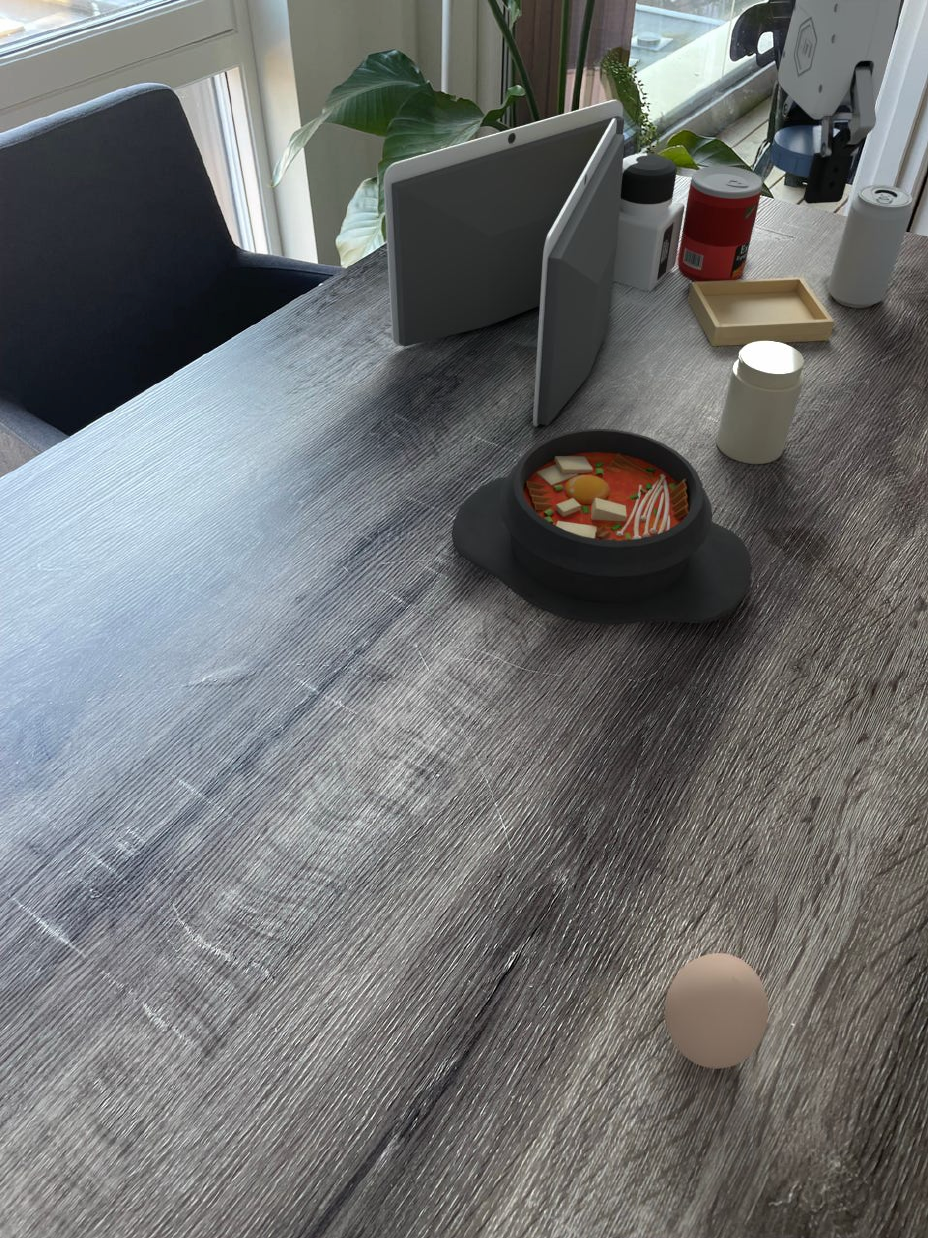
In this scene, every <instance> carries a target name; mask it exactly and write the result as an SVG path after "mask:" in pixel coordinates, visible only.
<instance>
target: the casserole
mask: <svg viewBox="0 0 928 1238" xmlns="http://www.w3.org/2000/svg"><path fill="white" fill-rule="evenodd" d="M703 487H704V486H703V482H702V479H701V478H700V475H699V473H698V471H697V470H696V469H695V468H694V467H693V465H692V464H691V463H690V461H689V460H687V458H685V457H684V456H683V455H682V454H681V453H680V452H678V451H677V450H675V449H674V448H671V447H670V446H669V445H667V444H665V443H664V442H661V441H658V440H656V439H653V438H651V437H649V436H646V435H642V434H639V433H636V432H631V431H626V430H620V429H614V428H613V429H612V428H584V429H583V428H582V429H576V430H570V431H565V432H562V433H558V434H556V435H553V436H550V437H547V438H545V439H543V440H542V441H540V442H537V443H535V444H534V446H532V447H531V448H529V449H528V450H527V451H526V452H525V453H524V454H523V455H522V456H521V458H520V459H519V460H518V461H517V464H516V465H515V466H514V467H513V468H512V469H511V471H510V472H509V473H508V474H507V476H502V477H497V478H495V479H493V480H491V481H489V482H487V483H486V484H483V485H481V486H480V487H479V488H477V489H476V490H475V491H474V492H473V493H471V494H470V495H469V496H468V497H467V498H466V499H465V501H464V502H463V503H462V504H461V505H460V507H459V508H458V510H457V512H456V515H455V516H454V519H453V522H452V529H451V538H452V545H453V548H454V549H455V551H456V552H457V553H458V554H459V556H460V557H461V558H462V559H464V560H465V561H467V562H468V563H470V564H472V565H473V566H474V567H477V568H479V569H481V570H483V571H484V572H486V573H488V574H490V575H492V576H494V577H495V578H496V579H498V581H500V582H501V583H503V585H505V587H507V588H508V589H510V590H511V591H512V592H513V593H514V594H516V595H517V596H518V597H520V598H521V600H523V601H524V602H526V603H528V604H529V605H532V606H534V607H536V608H537V609H540V611H542V612H546V613H547V614H551V615H554V616H556V617H559V618H562V619H564V620H570V621H574V622H579V623H583V624H590V625H605V626H616V625H629V624H630V625H631V624H642V623H654V622H667V623H669V622H670V623H688V624H689V623H690V624H707V623H710V622H715V621H718V620H721V619H722V618H723V617H725V616H727V615H728V614H730V613H731V612H732V611H733V610H735V609H736V607H737V606H739V603H740V602H741V601H742V600H743V599H744V597H745V595H746V593H747V591H748V589H749V586H750V585H751V578H752V570H753V569H752V561H751V557H750V553H749V550H748V548H747V547H746V546H747V545H746V544H745V542H744V541H743V540H742V539H741V538H740V536H739V535H738V534H736V533H735V532H733V530H731V529H728V528H727V527H725V526H722V525H721V524H718V523H716V522H714V521H713V509H712V504H711V501H710V499H709V497H708V494H707V492H706V490H705V488H703Z"/></svg>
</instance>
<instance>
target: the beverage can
mask: <svg viewBox="0 0 928 1238" xmlns="http://www.w3.org/2000/svg"><path fill="white" fill-rule="evenodd" d="M912 203H913V197H912V195H911V194H910V193H909V192H908V191H906V190H903V189H902V188H899V187H895V186H892V185H887V184H870V185H865V186H863V187H861V188H859V190H858V192H857V196H856V197H854V199H852V201H851V203H850V206H849V210H848V214H847V218H846V220H845V224H844V228H843V232H842V235H841V239H840V242H839V245H838V249H837V252H836V256H835V259H834V263H833V266H832V270H831V272H830V273H831V274H830V276H829V280H828V284H827V291H828V293H829V294H830V296H831V297H832V298H833V300H834V301H835V302H837V303H839V304H840V305H843V306H845V307H848V308H853V309H865V308H868V307H871V306H873V305H875V304H878V303H880V302H881V301H882V300H883V299H884V297H885V296H886V292H887V289H888V286H889V283H890V280H891V277H892V274H893V271H894V268H895V265H896V263H897V259H898V256H899V253H900V250H901V247H902V245H903V241H904V238H905V236H906V232H907V229H908V226H909V223H910V221H911V218H912V217H911V216H912V213H913V208H912V205H911V204H912Z"/></svg>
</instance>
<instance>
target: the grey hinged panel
mask: <svg viewBox="0 0 928 1238" xmlns="http://www.w3.org/2000/svg"><path fill="white" fill-rule="evenodd" d="M623 115H624V107H623V104H622V102H621V101H620V100H618V99H611V100H607V101H604V102H600V103H597V104H593V105H590V106H586V107H583V108H578V109H576V110H573V111H569V112H565V113H562V114H559V115H555V116H551V117H548V118H544V119H542V120H538V121H534V122H531V123H527V124H525V125H524V124H523V125H520V126H517V127H513V128H510V129H507V130H503V131H500V132H496V133H493V134H489V135H486V136H482V137H479V138H475V139H472V140H469V141H464V142H461V143H457V144H455V145H451V146H448V147H444V148H440V149H437V150H434V151H429V152H426V153H423V154H420V155H416V156H413V157H409V158H405V159H403V160H399V161H395V162H393V163H391V164H390V165H389V166H388V167H387V168H386V169H385V171H384V174H383V178H382V180H383V181H382V182H383V201H384V218H385V221H384V222H385V237H386V239H385V240H386V255H387V256H386V257H387V270H388V271H387V275H388V290H389V291H388V292H389V309H390V310H389V311H390V312H389V313H390V326H391V328H390V329H391V340H392V342H393V343H394V344H395V345H397V346H399V347H404V348H406V347H410V346H415V345H418V344H421V343H422V344H423V343H426V342H431V341H433V340H437V339H442V338H446V337H448V336H449V337H451V336H453V335H454V336H455V335H458V334H462V333H467V332H470V331H473V330H476V329H481V328H485V327H489V326H492V325H494V324H496V323H499V322H502V321H505V320H507V319H509V318H512V317H515V316H517V315H520V314H523V313H525V312H528V311H530V310H532V309H535V308H538V307H539V316H538V329H537V330H538V331H537V348H536V364H535V379H534V380H535V381H534V394H533V395H534V396H533V397H534V398H533V411H532V426H533V427H535V428H536V427H539V425H542V426H549V425H550V423H551V422H552V421H553V420H554V419H555V417H556V416H558V414H559V413H560V411H561V410H562V409H563V407H565V405H566V404H567V403H568V402H569V400H570V399H571V398H572V396H573V395H574V394H575V393H576V392H577V390H578V389H579V388H580V386H581V385H582V384H583V383H584V382H585V380H586V379H587V378H588V377H589V375H590V373H591V370H592V368H593V365H594V363H595V360H596V358H597V355H598V353H599V351H600V348H601V345H602V343H603V340H604V338H605V336H606V333H607V331H608V327H609V326H608V325H609V317H610V311H611V310H610V309H611V301H612V300H611V299H612V293H613V283H614V282H613V275H614V266H615V258H616V249H617V240H618V226H619V211H620V197H621V183H622V169H623V159H624V154H625V152H624V151H625V139H626V138H625V136H626V135H625V134H624V128H625V121H626V120H625V118H624V117H623Z"/></svg>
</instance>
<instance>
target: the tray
mask: <svg viewBox="0 0 928 1238" xmlns="http://www.w3.org/2000/svg"><path fill="white" fill-rule="evenodd" d="M689 285H690V286H689V291H688V295H687V302H688V305H689V306H690V308H691V310H692V311H693V314H694V316H695V317H696V319H697V321H698V323H699V325H700V327H701V329H702V330H703V332H704V334H705V336H706V338H707V339H708V341H709V343H710V345H711V347H725V346H728V347H729V346H746V345H748V344H750V343H753V342H758V341H773V342H779V343H783V344H786V343H787V344H788V343H806V342H807V343H808V342H824V341H825V342H826V341H830V338H831V334H832V331H833V328H834V325H835V320H834V319H833V318H832V316H831V315H830V313H829V312H828V310H827V309H826V308H825V306H824V305H823V304H822V302H821V300H819V298H818V297H817V295H816V294H815V292H814V291H813V290H812V288H811V287H810V286H809V284H808V283H807V281H806V280H805V279H804V277H803V276H795V277H775V278H773V277H772V278H752V279H751V278H750V279H749V278H748V279H737V280H726V281H704V282H696V281H690V284H689Z"/></svg>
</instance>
